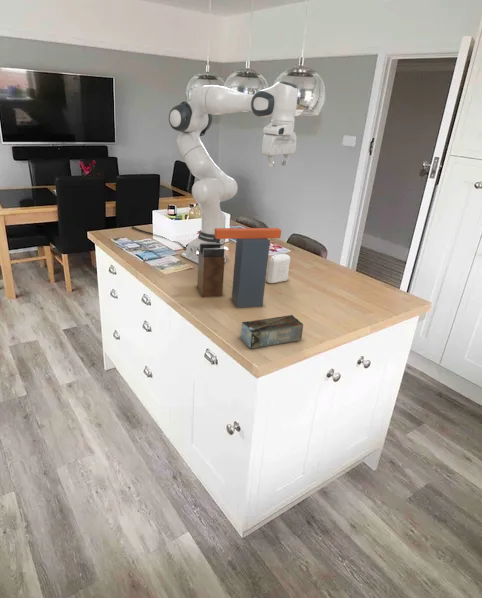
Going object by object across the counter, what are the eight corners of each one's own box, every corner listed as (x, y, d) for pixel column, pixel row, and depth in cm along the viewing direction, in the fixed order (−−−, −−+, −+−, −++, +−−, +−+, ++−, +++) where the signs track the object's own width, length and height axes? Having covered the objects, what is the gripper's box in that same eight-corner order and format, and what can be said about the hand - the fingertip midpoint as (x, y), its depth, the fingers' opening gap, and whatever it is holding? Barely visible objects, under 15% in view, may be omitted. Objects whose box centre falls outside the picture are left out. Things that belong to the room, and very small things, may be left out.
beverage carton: (239, 337, 136) (241, 319, 133) (290, 329, 143) (293, 312, 140) (249, 349, 129) (251, 331, 126) (302, 341, 136) (305, 323, 134)
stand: (237, 307, 156) (243, 240, 145) (231, 298, 163) (236, 234, 152) (262, 306, 159) (270, 240, 148) (255, 297, 165) (262, 234, 155)
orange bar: (216, 238, 145) (216, 230, 144) (214, 236, 147) (214, 228, 146) (280, 238, 151) (281, 230, 150) (277, 235, 154) (278, 227, 153)
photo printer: (282, 277, 188) (286, 251, 182) (288, 280, 184) (292, 254, 179) (264, 281, 182) (267, 254, 177) (270, 284, 179) (274, 257, 174)
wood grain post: (202, 297, 162) (204, 250, 155) (197, 286, 171) (199, 242, 163) (222, 296, 165) (225, 250, 157) (216, 286, 173) (218, 242, 165)
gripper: (288, 128, 170) (284, 163, 176) (260, 128, 155) (256, 166, 161) (302, 129, 166) (297, 165, 172) (275, 130, 151) (270, 169, 157)
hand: (277, 166), depth 166 cm, fingers open, 8 cm apart
